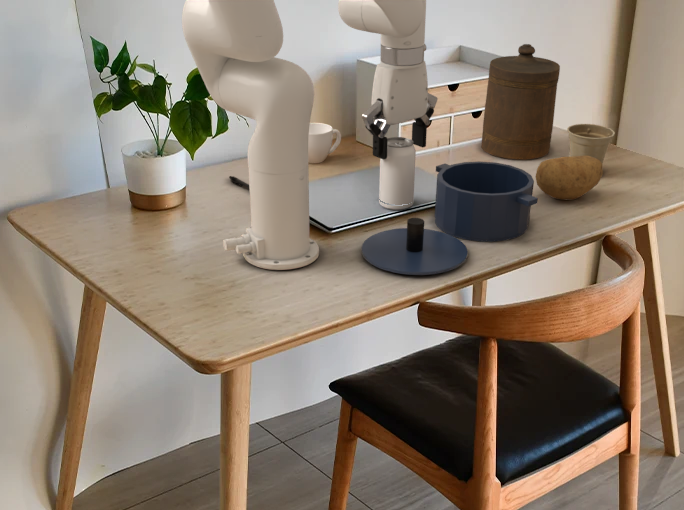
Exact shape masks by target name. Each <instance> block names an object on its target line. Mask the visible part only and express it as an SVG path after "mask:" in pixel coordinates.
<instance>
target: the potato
mask: <svg viewBox="0 0 684 510" xmlns="http://www.w3.org/2000/svg"><path fill="white" fill-rule="evenodd" d="M603 175H604V169H603V164H602V163H601V161H600V160H598V159H596V158H594V157H590V156H570V155H569V156H561V157H555V158H548V159H545V160H544V161H542V162H540V164H539V165H538V166H537V169H536V173H535V181H536V185H537V187H538V188H539V189H540V191H541V192H543V194H545V195H547V196H549V197H551V198H553V199H556V200H562V201H571V200H576V199H579V198H581V197H582V196H583V195H585V194H587V193H589V192H590V191H591V190H592V189H593V188H594V187H596V186H597V185H598V184H599V182H600V181H601V179H602V177H603Z"/></svg>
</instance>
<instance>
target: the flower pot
mask: <svg viewBox="0 0 684 510" xmlns="http://www.w3.org/2000/svg"><path fill="white" fill-rule="evenodd" d="M566 131H567V134H568V139H569V156H590V157H594V158H596V159H598V160H600V161H601V163H602V165H603V163H604V160H605V157H606V154H607V151H608V147H609V145H610V143H611V141H612V140H613V139H612V138H613V137H615V135H616V132H615V130H614V129H612V128H610V127H607V126H605V125H599V124H594V123H576V124H572V125H569V126H568V127H567V128H566Z"/></svg>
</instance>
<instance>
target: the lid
mask: <svg viewBox="0 0 684 510" xmlns="http://www.w3.org/2000/svg"><path fill="white" fill-rule="evenodd" d="M361 255H362V257H363V258H364V260H365V261H367V262H368V263H369V264H371V265H372V266H373V267H376V268H378V269H381V270H383V271H386V272H390V273H394V274H395V273H396V274H399V275H400V274H401V275H409V276H427V275H437V274H442V273H447V272H450V271H451V270H452V271H453V270H455V269H457V268H459V267H460V266H461V265H463V264H464V263H465V262H466V260H467V259H468V248H467V246H466V244H465V243H464V242H463V241H462V240H460V238H458V237H454V236H452V235H449V234H447V233H445V232H443V231H439V230H435V229H429V228H425V220H424V219H423V218H420V217H411V218H408V219H407V221H406V227H401V228H392V229H387V230H383V231H380V232H377V233H374V234H372V235H370V236H369V237H367V238H366V239H365V240H364V241H363V243H362V245H361Z"/></svg>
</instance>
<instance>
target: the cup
mask: <svg viewBox="0 0 684 510" xmlns="http://www.w3.org/2000/svg"><path fill="white" fill-rule="evenodd" d="M334 134H335V136H336V140H335V142H334V144H333V140H334V139H333V138H334ZM341 142H342V134H341V132H340V130H339V129H336V128H333V126H331V124H327V123H323V122H310V125H309V137H308V164H319V163H323V162H324V161H325V160H326V158H327V157H328V155H330V154H332V153H333V152H335V151H336V150H337V149H338V147H339V146H340V144H341Z"/></svg>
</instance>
